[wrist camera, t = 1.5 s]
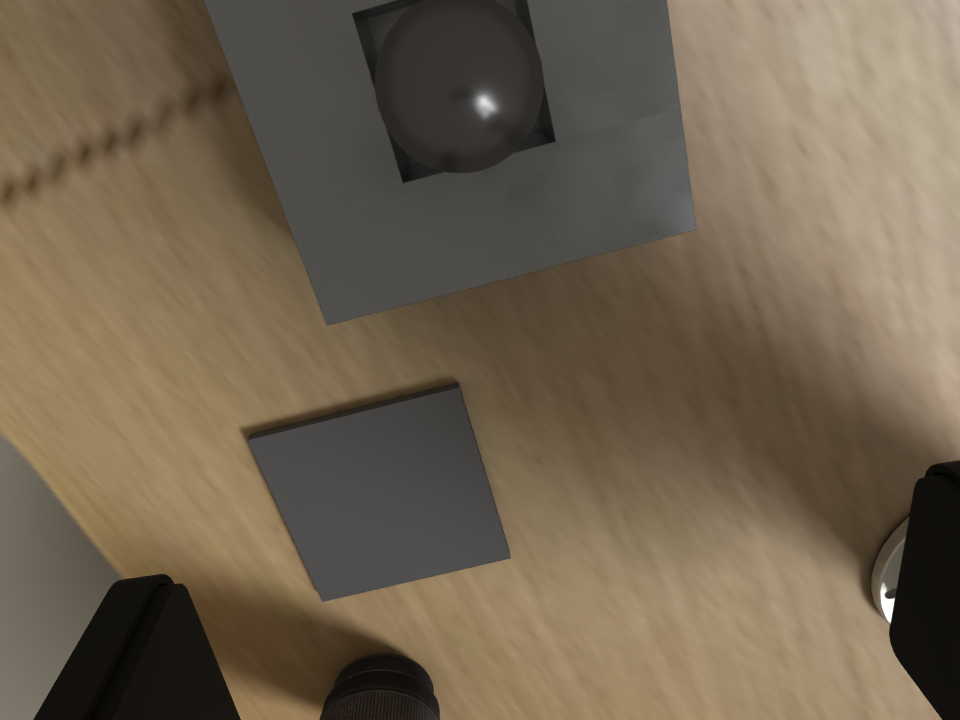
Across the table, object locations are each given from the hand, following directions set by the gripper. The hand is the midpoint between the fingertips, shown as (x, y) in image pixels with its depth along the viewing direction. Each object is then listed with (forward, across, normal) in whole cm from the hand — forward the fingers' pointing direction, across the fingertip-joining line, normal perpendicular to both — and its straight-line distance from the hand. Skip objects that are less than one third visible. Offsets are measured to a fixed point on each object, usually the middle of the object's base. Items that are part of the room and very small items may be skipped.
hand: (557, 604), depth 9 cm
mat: (+27, +7, +17) cm, 33 cm away
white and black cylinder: (+26, 0, -5) cm, 27 cm away
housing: (+27, 0, -5) cm, 28 cm away
